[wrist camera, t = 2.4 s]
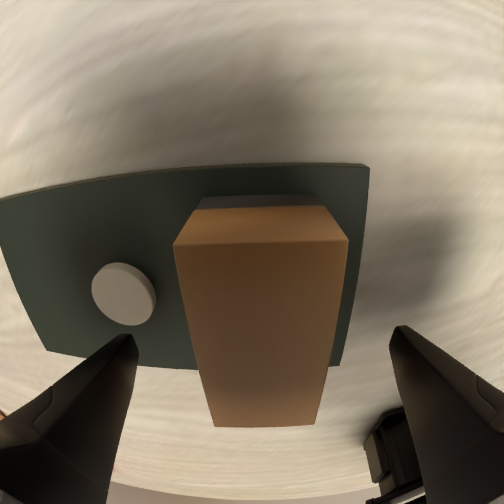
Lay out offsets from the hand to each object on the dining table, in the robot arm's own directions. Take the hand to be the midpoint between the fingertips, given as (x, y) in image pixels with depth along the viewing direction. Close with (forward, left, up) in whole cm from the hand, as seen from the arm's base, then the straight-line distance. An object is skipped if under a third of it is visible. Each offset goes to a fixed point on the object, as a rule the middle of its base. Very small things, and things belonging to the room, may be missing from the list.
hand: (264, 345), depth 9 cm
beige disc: (+6, 0, -3) cm, 7 cm away
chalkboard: (+5, 0, -4) cm, 6 cm away
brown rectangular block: (0, 0, -3) cm, 3 cm away
